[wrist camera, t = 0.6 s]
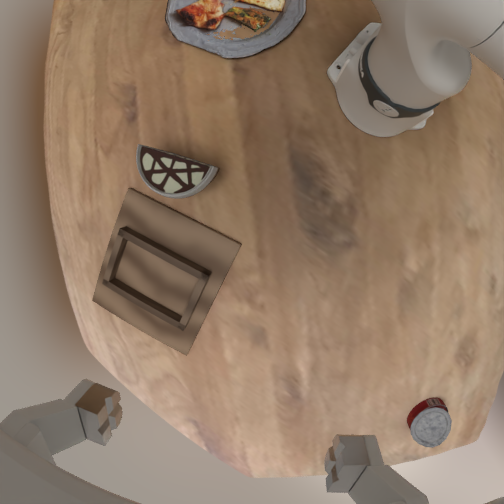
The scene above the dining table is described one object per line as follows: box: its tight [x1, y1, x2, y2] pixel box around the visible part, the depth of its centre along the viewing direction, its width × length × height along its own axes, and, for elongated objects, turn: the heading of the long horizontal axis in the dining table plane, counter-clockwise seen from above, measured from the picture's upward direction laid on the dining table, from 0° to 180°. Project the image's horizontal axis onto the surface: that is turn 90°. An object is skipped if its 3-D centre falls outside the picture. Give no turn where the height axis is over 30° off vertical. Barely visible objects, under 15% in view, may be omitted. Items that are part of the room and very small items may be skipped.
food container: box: [136, 144, 219, 198], centre depth 44 cm, size 12×6×10 cm, turn 70°
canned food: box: [407, 398, 451, 447], centre depth 52 cm, size 11×10×10 cm
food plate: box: [165, 0, 306, 58], centre depth 40 cm, size 25×23×4 cm
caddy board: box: [92, 188, 241, 356], centre depth 52 cm, size 24×22×4 cm
